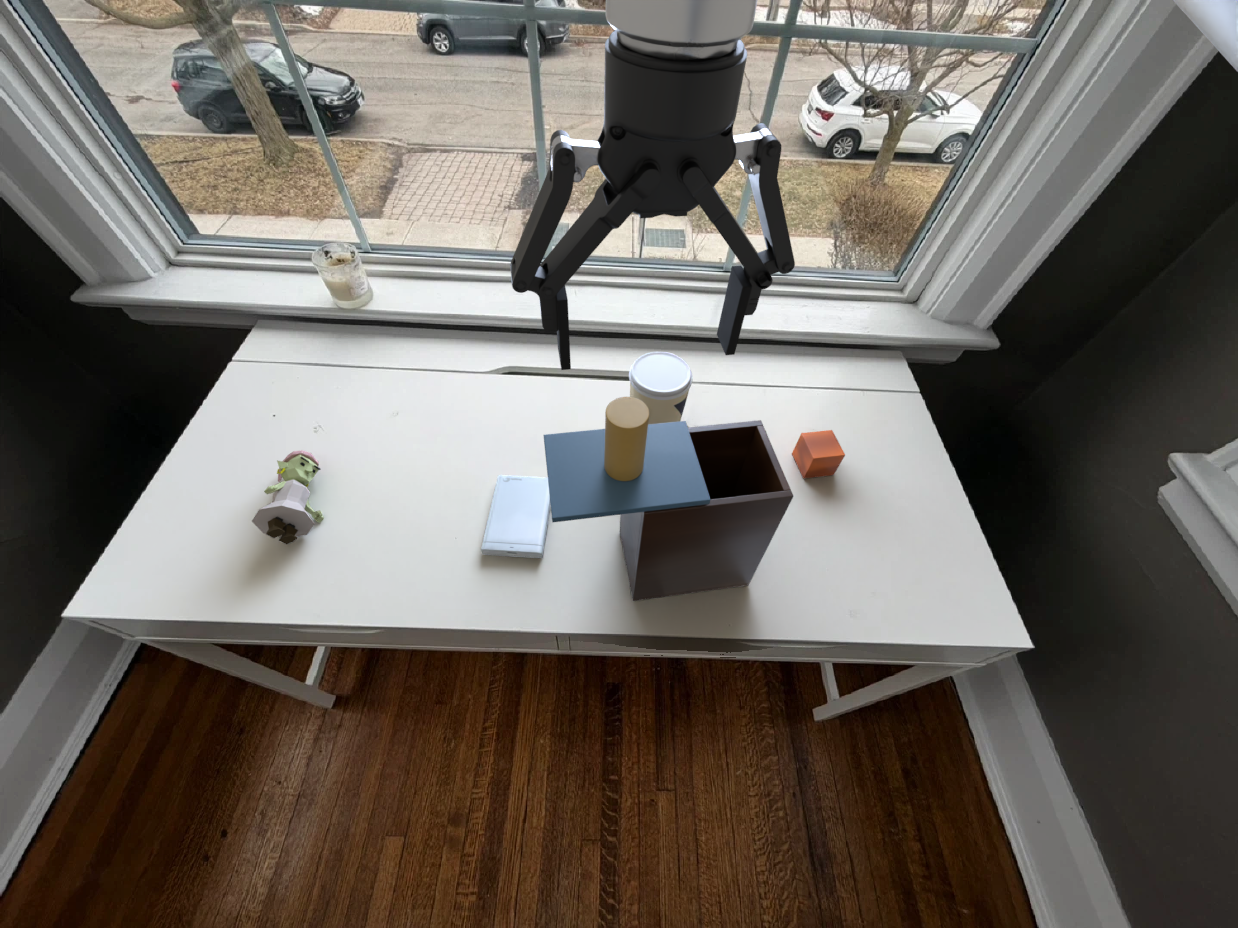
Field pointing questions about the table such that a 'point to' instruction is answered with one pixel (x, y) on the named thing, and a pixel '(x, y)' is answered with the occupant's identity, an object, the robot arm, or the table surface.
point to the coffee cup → (661, 385)
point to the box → (711, 518)
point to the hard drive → (518, 517)
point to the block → (818, 454)
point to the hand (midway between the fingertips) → (646, 351)
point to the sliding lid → (623, 466)
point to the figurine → (290, 500)
